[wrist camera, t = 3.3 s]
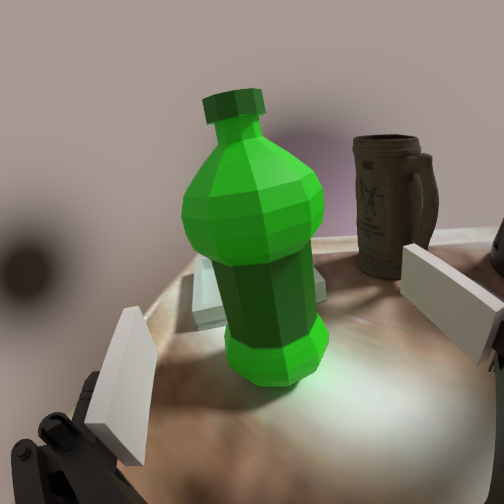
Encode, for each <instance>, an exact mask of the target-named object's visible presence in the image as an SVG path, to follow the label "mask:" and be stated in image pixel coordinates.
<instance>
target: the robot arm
mask: <svg viewBox="0 0 504 504" xmlns="http://www.w3.org/2000/svg"><path fill="white" fill-rule="evenodd" d="M490 260H491V263H492V265H493V267H494V268H495V269H496V270H497V271H498V272H499V273H500V274H501V275H503V276H504V218H503V221H502V223H501V226H500V228H499V230H498V233H497V235H496V237H495V239H494V242H493V244H492V249H491V255H490ZM400 293H401V294H402V295H403V296H404V297H406V298H407V299H408V300H409V301H410V302H411V303H412V304H413V305H414V306H415V307H416V308H418V309H419V310H420V311H421V312H422V313H423V314H424V315H425V316H426V317H427V318H428V319H429V320H430V321H431V322H433V323H434V324H435V325H436V326H437V327H438V328H439V329H440V330H441V331H442V332H443V333H444V334H445V335H446V336H447V337H448V338H449V339H450V340H451V341H452V342H453V343H454V344H455V345H456V346H457V347H458V348H459V349H460V350H461V351H462V352H463V353H464V354H465V355H466V356H467V357H468V358H469V359H470V360H471V361H472V362H473V363H474V364H475V365H476V366H478V365H479V364H481V363H482V362H484V361H485V360H487V359H488V356H489V354H490V352H491V349H492V348H493V349H494V350H495V351H496V353H495V355H494V357H493V360H492V362H491V364H490V367H489V370H488V372H490V371H491V369H492V367H493V366H494V365H495V369H494V371H493V372H495V379H496V440H495V453H494V463H493V471H492V478H491V484H490V490H489V495H488V498H487V500H486V502H485V503H484V504H504V299H502V298H501V297H500V296H498V295H497V294H496V293H494V292H491V290H490V289H488V288H486V287H485V286H484V285H483V284H481V283H480V282H478V281H476V280H473V279H471V278H468V277H466V276H465V275H463V274H462V273H460V272H459V271H457V270H456V269H454V268H453V267H451V266H450V265H448V264H447V263H445V262H443V261H442V260H440V259H439V258H437V257H436V256H434V255H432V254H431V253H429V252H428V251H426V250H424V249H423V248H421V247H419V246H418V245H416V244H410V245H406V246H403V258H402V274H401V286H400ZM157 354H158V350H157V348H156V346H155V343H154V341H153V339H152V336H151V334H150V332H149V330H148V327H147V325H146V322H145V320H144V318H143V315H142V313H141V310H140V308H139V306H135V307H129V308H124V310H123V312H122V315H121V317H120V320H119V322H118V325H117V327H116V330H115V333H114V335H113V338H112V340H111V343H110V346H109V349H108V351H107V354H106V357H105V359H104V362H103V365H102V368H101V371H96V372H92V373H91V374H90V375H89V377H88V378H87V379H86V380H85V383H84V386H83V388H82V392H81V394H80V397H79V400H78V402H77V405H76V408H75V411H74V414H73V418H72V421H71V420H70V419H69V418H68V417H67V416H66V414H64V413H61V412H55V413H52V414H50V415H48V416H46V417H45V418H44V419H43V420H42V422H41V423H40V425H39V428H38V435H39V437H40V438H41V439H42V440H43V441H44V442H45V443H46V444H47V445H43V446H39V447H38V446H37V445H36V444H35V443H34V442H33V441H32V440H30V439H22V440H20V441H19V442H17V443H16V444H15V445H14V447H13V449H12V452H11V466H12V478H13V488H14V496H15V503H16V504H147V502H146V501H145V500H144V499H143V498H142V497H141V496H140V495H139V493H138V492H137V491H136V490H135V489H134V487H133V486H132V485H131V484H130V483H129V481H128V480H127V479H126V478H125V476H124V475H123V474H122V472H121V471H120V470H119V469H118V468H117V467H116V465H117V459H118V460H119V461H120V462H122V463H123V464H124V465H125V466H144V459H145V448H146V437H147V428H148V419H149V410H150V402H151V395H152V387H153V380H154V374H155V367H156V361H157Z"/></svg>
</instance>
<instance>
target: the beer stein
mask: <svg viewBox="0 0 504 504" xmlns="http://www.w3.org/2000/svg"><path fill="white" fill-rule="evenodd" d="M353 153H354V157H355V165H356V200H357V235H358V247H359V254H358V259H357V262H358V266H359V268H360V269H361V270H362V271H363V272H365V273H367V274H369V275H371V276H374V277H377V278H382V279H400V278H401V274H402V258H403V246H406V245H410V244H416V245H418V246H419V247H421V248H423V249H424V250H426V251H428V245H429V242H430V239H431V237H432V234H433V232H434V229H435V226H436V222H437V217H438V208H439V195H438V189H437V185H436V180H435V176H434V173H433V167H432V156H431V155H429V154H426V153H421V147H420V145H419V140H418V138H417V137H413V136H406V135H398V134H393V135H392V134H391V135H369V136H368V135H367V136H358V137H355V138H354V139H353ZM422 189H423V192H422Z"/></svg>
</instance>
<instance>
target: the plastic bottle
mask: <svg viewBox="0 0 504 504" xmlns="http://www.w3.org/2000/svg"><path fill="white" fill-rule="evenodd" d="M202 101H203V106H204V111H205V117H206V122H207V125H208V124H214V125H215V130H216V135H217V140H218V145H217V147H216V148H215V149H214V150H213V152H212V153H211V154H210V155H209V157H208V158H207V160H206V161H205V162H204V164H203V165H202V166H201V168H200V169H199V171H198V172H197V174H196V175H195V177H194V178H193V180H192V182H191V183H190V185H189V186H188V188H187V190H186V192H185V194H184V197H183V206H182V215H181V217H182V221H183V225H184V228H185V233H186V235H187V237H188V239H189V241H190V243H191V245H192V247H193V249H194V250H195V251H196V252H198V253H200V254H201V255H203V256H205V257H207V258H208V259H210V260H211V262H212V266H213V270H214V274H215V277H216V281H217V285H218V289H219V293H220V296H221V300H222V304H223V307H224V311H225V315H226V318H227V322H228V323H227V326H226V330H225V336H224V338H225V347H226V356H227V360H228V363H229V366H230V367H231V368H232V369H233V370H234V371H235V372H236V373H238V374H239V375H241V376H242V377H244V378H245V379H247V380H249V381H250V382H252V383H253V384H255V385H256V386H260V387H287V386H290V385H292V384H294V383H296V382H298V381H299V380H301V379H303V378H305V377H307V376H308V375H310V374H312V373H313V372H315V371H316V369H317V367H318V365H319V363H320V361H321V359H322V357H323V354H324V352H325V350H326V347H327V345H328V343H329V332H328V330H327V329H326V327H325V325H324V323H323V321H322V320H321V318H320V316H319V315H318V313H317V308H316V295H315V282H314V271H313V260H312V250H311V241H310V238H311V237H312V236H313V234H314V233H315V232H316V230H317V229H318V228H319V226H320V225H321V224H322V221H323V212H324V198H323V190H322V186H321V184H320V182H319V180H318V178H317V176H316V175H315V173H314V171H313V170H312V169H310V168H309V167H308V166H306V165H305V164H304V163H302V162H301V161H300V160H298V159H297V158H296V157H294V156H293V155H291V154H290V153H289V152H287V151H285V150H284V149H282V148H280V147H279V146H277V145H276V144H274V143H272V142H271V141H269V140H267V139H265V138H264V137H262V133H261V127H260V122H259V115H263V114H265V113H266V111H265V106H264V101H263V95H262V90H261V89H254V88H250V89H240V90H232V91H228V92H223V93H219V94H215V95H212V96H210V97H207V98H204V99H202Z"/></svg>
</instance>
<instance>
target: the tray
mask: <svg viewBox="0 0 504 504" xmlns="http://www.w3.org/2000/svg"><path fill="white" fill-rule="evenodd" d="M313 271H314V282H315V295H316V303H319V302H322V301H326V300H327V299H326V282H325V280H324V278H323V277H322V276H321V275H320V273H319V272H318V271H317V270H316V268H315V267H314V266H313ZM192 313H193V316H194V319H195V322H196V325H197V328H198V331H200V330H205V329H209V328H214V327H219V326H224V325H227V323H228V322H227V318H226V315H225V311H224V307H223V304H222V300H221V296H220V293H219V289H218V285H217V281H216V277H215V274H214V270H213V266H212V262H211V260H210V259H208V258H207V257H205V256H202V257H198V258H195V267H194V283H193V301H192Z"/></svg>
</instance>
